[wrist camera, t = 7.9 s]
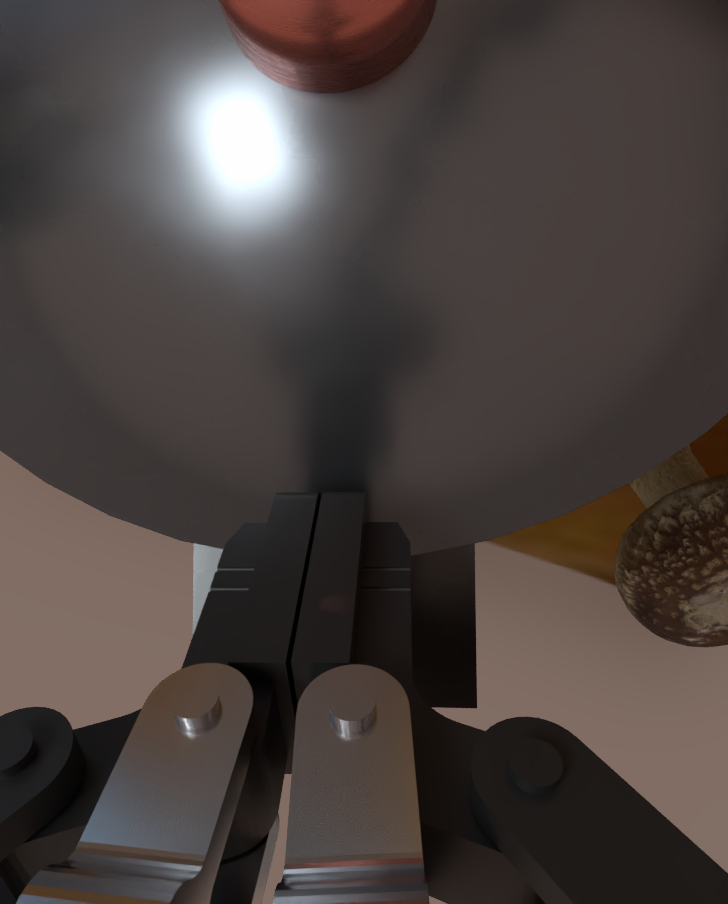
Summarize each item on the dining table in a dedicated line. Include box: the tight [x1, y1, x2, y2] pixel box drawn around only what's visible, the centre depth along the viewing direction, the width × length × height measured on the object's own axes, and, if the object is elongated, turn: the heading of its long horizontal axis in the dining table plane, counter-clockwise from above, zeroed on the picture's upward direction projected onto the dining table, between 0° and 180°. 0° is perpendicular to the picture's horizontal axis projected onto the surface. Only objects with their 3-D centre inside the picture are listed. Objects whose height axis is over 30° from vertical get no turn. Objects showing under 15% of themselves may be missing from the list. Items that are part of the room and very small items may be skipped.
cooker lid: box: [0, 0, 728, 708], centre depth 12 cm, size 21×24×3 cm
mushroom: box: [615, 444, 728, 647], centre depth 33 cm, size 10×9×15 cm
